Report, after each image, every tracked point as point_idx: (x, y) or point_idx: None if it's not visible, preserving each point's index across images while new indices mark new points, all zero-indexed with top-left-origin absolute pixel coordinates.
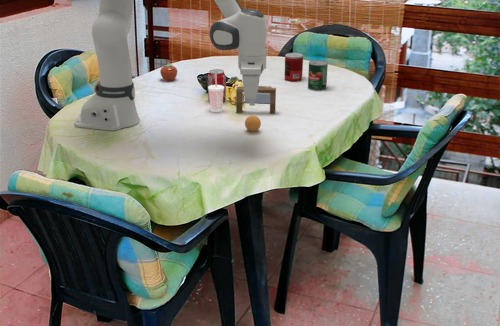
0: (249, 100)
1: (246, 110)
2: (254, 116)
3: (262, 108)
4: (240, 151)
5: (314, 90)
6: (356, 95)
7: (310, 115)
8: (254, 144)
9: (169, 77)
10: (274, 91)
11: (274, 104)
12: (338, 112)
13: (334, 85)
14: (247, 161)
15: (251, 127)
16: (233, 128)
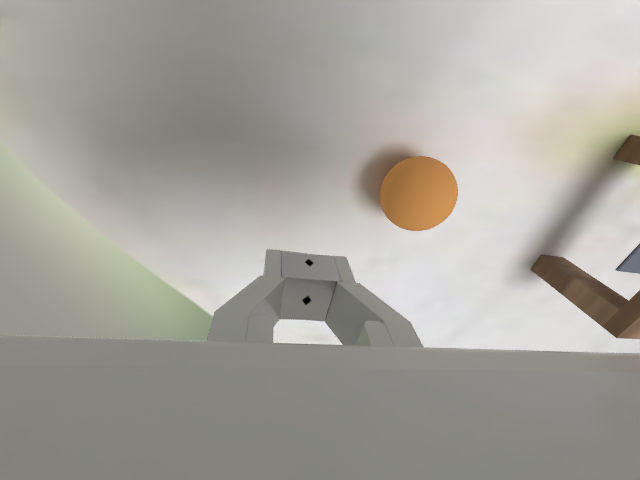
0: (265, 275)
1: (624, 180)
2: (426, 216)
3: (602, 237)
4: (157, 95)
5: None
6: None
7: (470, 345)
8: (251, 172)
9: None
10: (613, 328)
11: (560, 289)
12: None
13: None
14: (28, 116)
15: (383, 182)
16: (459, 96)
